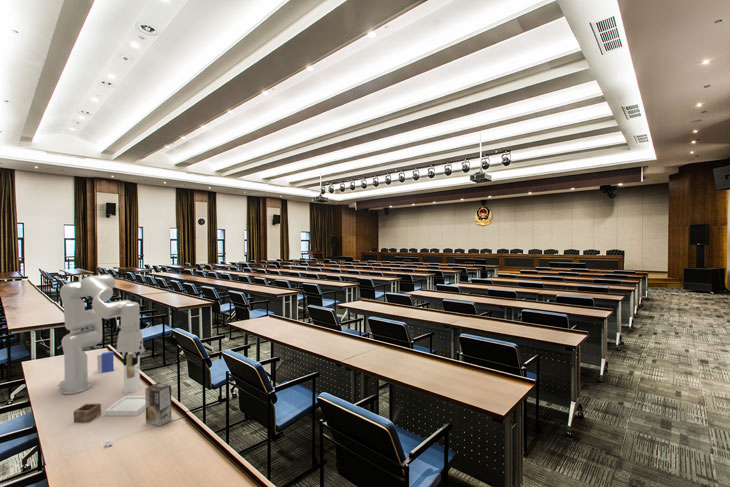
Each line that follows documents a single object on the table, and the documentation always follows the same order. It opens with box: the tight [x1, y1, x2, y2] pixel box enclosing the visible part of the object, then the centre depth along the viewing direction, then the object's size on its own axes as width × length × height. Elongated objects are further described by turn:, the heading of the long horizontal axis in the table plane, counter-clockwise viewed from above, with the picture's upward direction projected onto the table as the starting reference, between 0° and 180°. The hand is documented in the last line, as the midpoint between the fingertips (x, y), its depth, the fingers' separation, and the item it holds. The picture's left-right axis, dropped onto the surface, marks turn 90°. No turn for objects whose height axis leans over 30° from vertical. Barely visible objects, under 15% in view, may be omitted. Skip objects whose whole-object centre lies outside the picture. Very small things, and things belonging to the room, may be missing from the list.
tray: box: [104, 395, 146, 417], centre depth 167 cm, size 15×14×2 cm
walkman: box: [96, 350, 115, 375], centre depth 207 cm, size 8×3×12 cm, turn 127°
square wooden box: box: [73, 403, 102, 423], centre depth 157 cm, size 7×7×5 cm
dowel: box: [126, 354, 135, 378], centre depth 166 cm, size 3×3×11 cm
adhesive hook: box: [103, 438, 113, 448], centre depth 137 cm, size 3×3×3 cm
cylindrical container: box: [123, 349, 141, 394], centre depth 185 cm, size 7×7×25 cm
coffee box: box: [144, 382, 172, 427], centre depth 156 cm, size 9×6×16 cm
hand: (130, 364), depth 166 cm, fingers closed on dowel, 3 cm apart
